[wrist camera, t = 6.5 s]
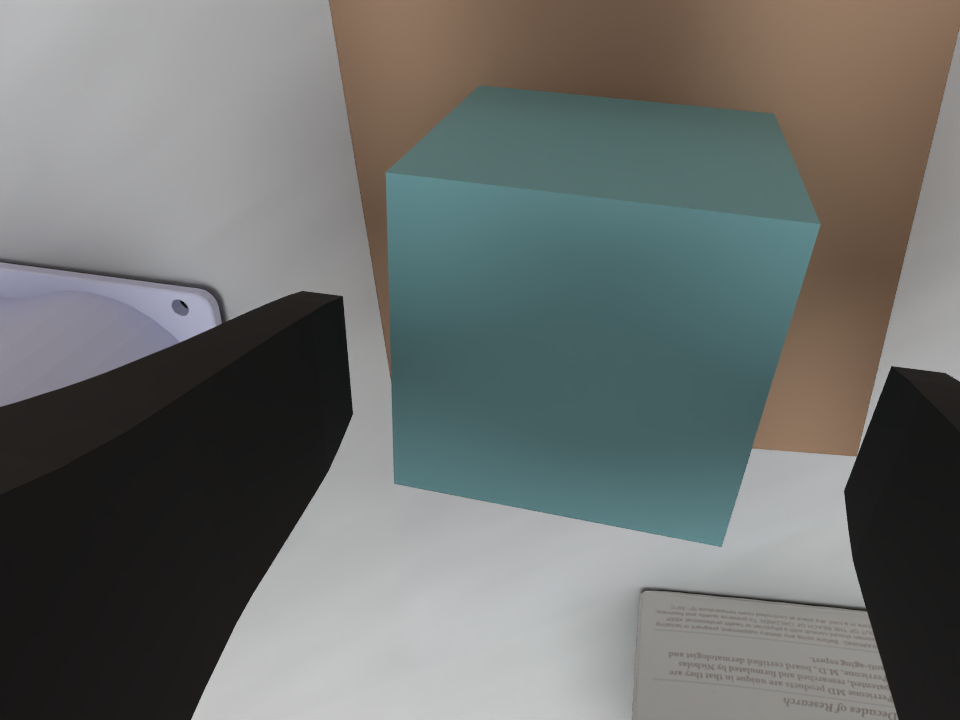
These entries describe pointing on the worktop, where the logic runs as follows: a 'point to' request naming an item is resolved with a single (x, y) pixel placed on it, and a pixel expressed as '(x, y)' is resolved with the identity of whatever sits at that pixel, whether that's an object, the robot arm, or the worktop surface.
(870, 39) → the walnut block
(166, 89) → the worktop surface
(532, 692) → the worktop surface
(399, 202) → the teal cube
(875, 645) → the supplement box
